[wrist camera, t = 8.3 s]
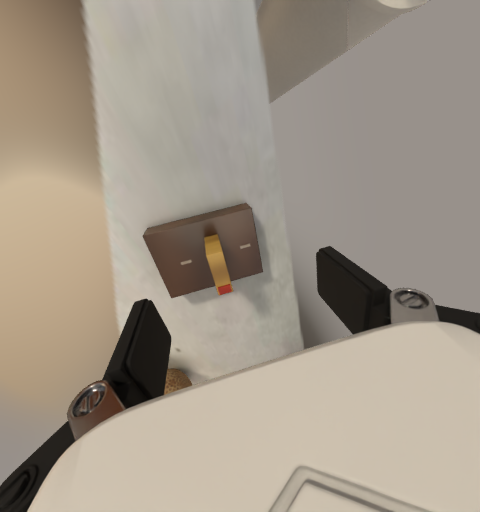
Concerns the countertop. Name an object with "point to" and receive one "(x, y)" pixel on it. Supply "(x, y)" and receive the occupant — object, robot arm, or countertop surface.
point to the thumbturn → (217, 264)
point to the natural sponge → (176, 381)
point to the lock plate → (193, 248)
